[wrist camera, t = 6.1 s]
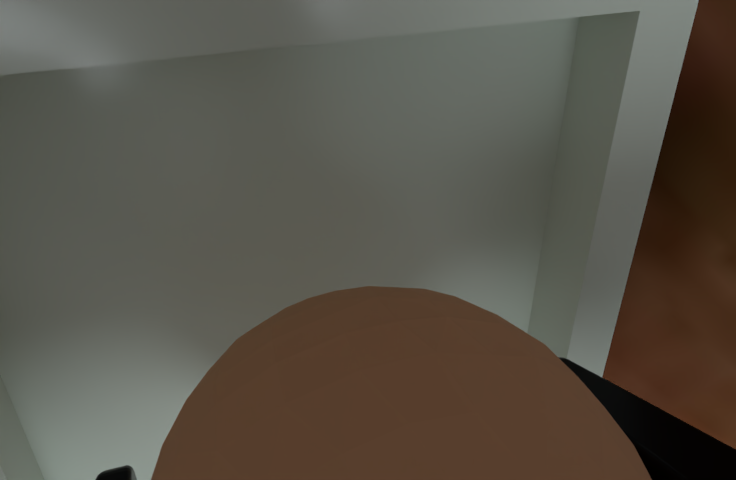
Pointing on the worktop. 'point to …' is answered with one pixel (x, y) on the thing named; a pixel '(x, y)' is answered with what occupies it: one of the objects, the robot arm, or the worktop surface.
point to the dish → (302, 185)
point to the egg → (393, 400)
